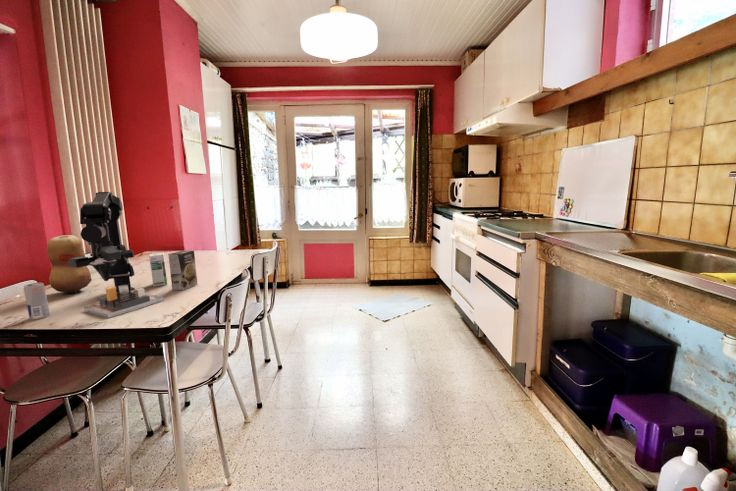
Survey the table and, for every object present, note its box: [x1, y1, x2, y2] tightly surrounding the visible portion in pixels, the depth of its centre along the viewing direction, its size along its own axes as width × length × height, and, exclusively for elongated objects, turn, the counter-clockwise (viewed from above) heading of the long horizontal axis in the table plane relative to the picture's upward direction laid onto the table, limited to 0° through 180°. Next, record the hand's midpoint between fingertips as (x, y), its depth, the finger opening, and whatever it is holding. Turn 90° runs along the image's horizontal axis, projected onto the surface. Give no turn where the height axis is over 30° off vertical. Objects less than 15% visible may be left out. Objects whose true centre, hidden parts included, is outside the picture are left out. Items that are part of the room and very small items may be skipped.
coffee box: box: [168, 250, 199, 291], centre depth 157 cm, size 9×6×16 cm
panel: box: [83, 285, 164, 319], centre depth 134 cm, size 16×20×6 cm
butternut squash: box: [46, 234, 93, 294], centre depth 151 cm, size 14×13×25 cm
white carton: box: [23, 282, 50, 321], centre depth 124 cm, size 5×5×12 cm
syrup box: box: [148, 252, 168, 287], centre depth 162 cm, size 6×6×14 cm
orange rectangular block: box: [104, 285, 117, 301], centre depth 130 cm, size 2×3×5 cm
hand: (106, 280), depth 128 cm, fingers closed
